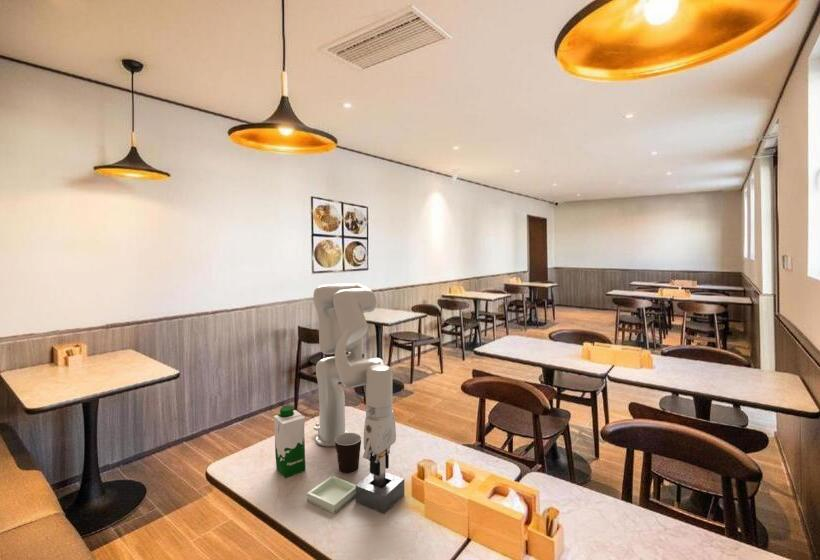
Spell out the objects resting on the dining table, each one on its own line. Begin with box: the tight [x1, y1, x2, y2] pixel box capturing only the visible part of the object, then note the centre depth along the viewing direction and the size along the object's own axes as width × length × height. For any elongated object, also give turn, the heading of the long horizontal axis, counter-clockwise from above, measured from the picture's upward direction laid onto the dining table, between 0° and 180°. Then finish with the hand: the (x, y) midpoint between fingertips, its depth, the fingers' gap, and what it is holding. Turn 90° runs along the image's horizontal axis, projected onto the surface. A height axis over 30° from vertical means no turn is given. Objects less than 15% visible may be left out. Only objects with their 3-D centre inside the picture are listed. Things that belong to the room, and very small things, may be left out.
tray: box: [306, 475, 357, 515], centre depth 115 cm, size 10×10×2 cm
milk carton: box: [273, 405, 306, 479], centre depth 129 cm, size 9×9×20 cm
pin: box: [373, 451, 386, 488], centre depth 114 cm, size 4×4×12 cm
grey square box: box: [355, 471, 405, 515], centre depth 114 cm, size 10×10×5 cm
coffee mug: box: [334, 432, 362, 475], centre depth 132 cm, size 12×9×10 cm
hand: (379, 469), depth 114 cm, fingers closed on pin, 3 cm apart
